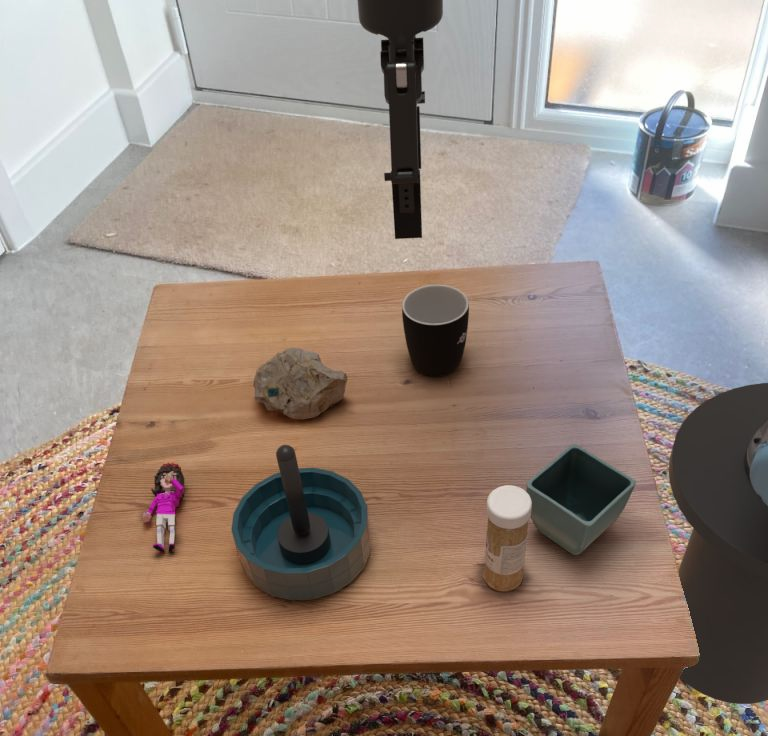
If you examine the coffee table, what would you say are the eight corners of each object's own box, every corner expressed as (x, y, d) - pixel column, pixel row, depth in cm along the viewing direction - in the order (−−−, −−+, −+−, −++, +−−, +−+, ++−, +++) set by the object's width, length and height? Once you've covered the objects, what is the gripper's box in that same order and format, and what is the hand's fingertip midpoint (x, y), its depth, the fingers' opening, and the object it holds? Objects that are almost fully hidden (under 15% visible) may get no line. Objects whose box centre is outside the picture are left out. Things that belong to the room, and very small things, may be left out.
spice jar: (478, 564, 97) (482, 487, 87) (517, 557, 97) (525, 479, 87) (488, 596, 94) (493, 521, 84) (528, 589, 94) (537, 513, 84)
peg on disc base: (339, 534, 100) (323, 436, 87) (315, 571, 97) (294, 476, 84) (296, 518, 102) (274, 421, 89) (270, 554, 99) (244, 458, 86)
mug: (465, 385, 117) (466, 326, 109) (401, 382, 118) (397, 323, 110) (471, 330, 124) (473, 271, 116) (411, 328, 125) (408, 270, 118)
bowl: (388, 580, 96) (385, 548, 92) (258, 621, 94) (248, 590, 89) (349, 486, 106) (344, 453, 101) (230, 521, 103) (219, 489, 99)
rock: (240, 414, 114) (253, 355, 107) (256, 387, 118) (269, 329, 111) (325, 445, 114) (343, 389, 107) (337, 417, 119) (355, 361, 112)
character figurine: (191, 554, 102) (193, 474, 108) (179, 532, 97) (181, 450, 104) (144, 560, 102) (149, 480, 108) (130, 539, 97) (136, 456, 104)
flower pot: (625, 531, 99) (638, 480, 92) (579, 576, 95) (589, 526, 88) (565, 493, 103) (573, 441, 96) (518, 534, 99) (523, 484, 92)
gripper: (361, -72, 81) (376, 144, 97) (348, 33, 65) (369, 270, 81) (439, -77, 80) (441, 141, 96) (446, 28, 64) (447, 267, 80)
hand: (408, 200), depth 89 cm, fingers open, 13 cm apart
